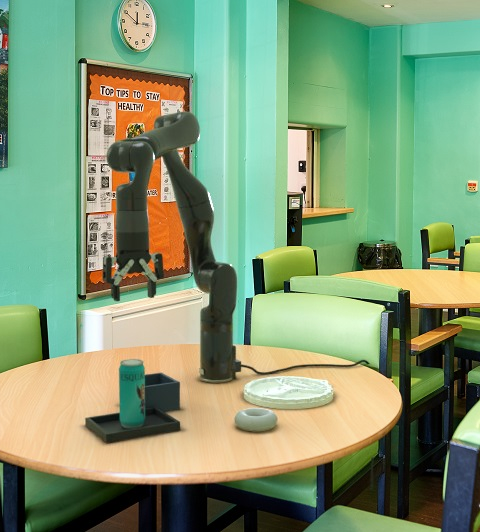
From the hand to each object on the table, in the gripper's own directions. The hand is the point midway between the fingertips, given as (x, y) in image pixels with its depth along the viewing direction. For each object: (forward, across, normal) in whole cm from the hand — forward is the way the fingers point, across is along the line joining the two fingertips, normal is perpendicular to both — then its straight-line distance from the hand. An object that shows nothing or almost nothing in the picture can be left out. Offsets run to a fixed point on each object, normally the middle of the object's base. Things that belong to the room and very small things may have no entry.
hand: (134, 299), depth 189 cm
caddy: (+29, +7, +7) cm, 30 cm away
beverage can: (+28, -4, -6) cm, 29 cm away
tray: (+29, -4, -6) cm, 30 cm away
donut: (+29, +21, -19) cm, 41 cm away
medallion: (+30, +43, -2) cm, 53 cm away
